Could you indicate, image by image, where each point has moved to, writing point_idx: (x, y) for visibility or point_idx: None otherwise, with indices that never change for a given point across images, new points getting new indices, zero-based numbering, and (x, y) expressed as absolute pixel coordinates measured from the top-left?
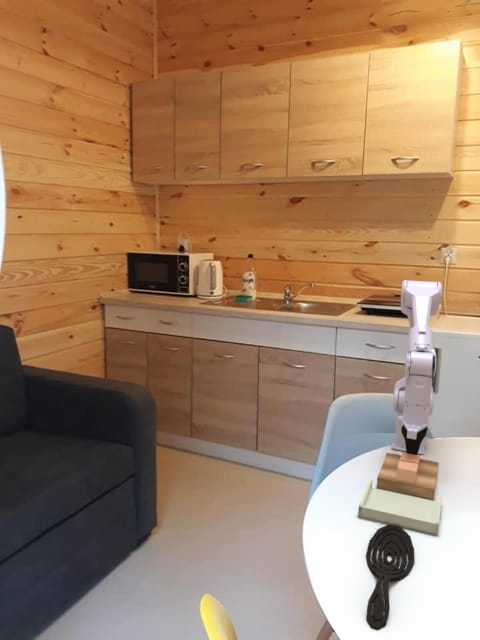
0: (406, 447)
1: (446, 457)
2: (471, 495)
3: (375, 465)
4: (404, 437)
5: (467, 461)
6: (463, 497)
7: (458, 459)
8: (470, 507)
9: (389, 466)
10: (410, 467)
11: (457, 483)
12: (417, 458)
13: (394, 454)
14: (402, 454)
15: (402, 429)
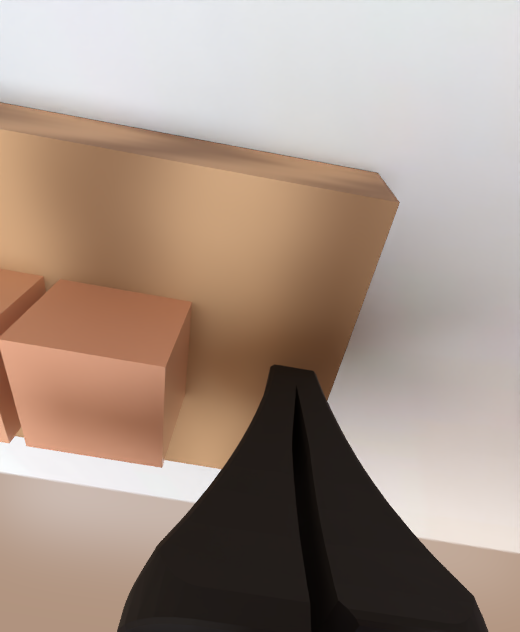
0: (254, 415)
1: (491, 477)
2: (149, 489)
3: (338, 81)
4: (193, 506)
5: (449, 526)
6: (119, 468)
7: (469, 507)
8: (55, 473)
9: (113, 214)
10: None
11: None
12: (101, 449)
13: (367, 267)
14: (120, 366)
15: (151, 627)
